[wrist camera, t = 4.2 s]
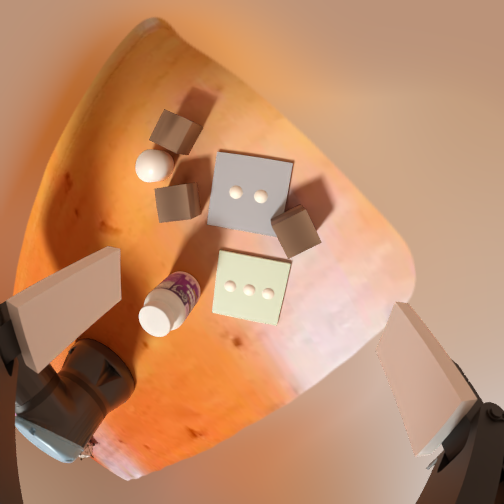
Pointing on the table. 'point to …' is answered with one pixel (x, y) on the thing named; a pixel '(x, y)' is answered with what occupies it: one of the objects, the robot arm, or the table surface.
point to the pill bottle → (169, 304)
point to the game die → (87, 451)
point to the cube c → (295, 231)
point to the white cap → (154, 165)
